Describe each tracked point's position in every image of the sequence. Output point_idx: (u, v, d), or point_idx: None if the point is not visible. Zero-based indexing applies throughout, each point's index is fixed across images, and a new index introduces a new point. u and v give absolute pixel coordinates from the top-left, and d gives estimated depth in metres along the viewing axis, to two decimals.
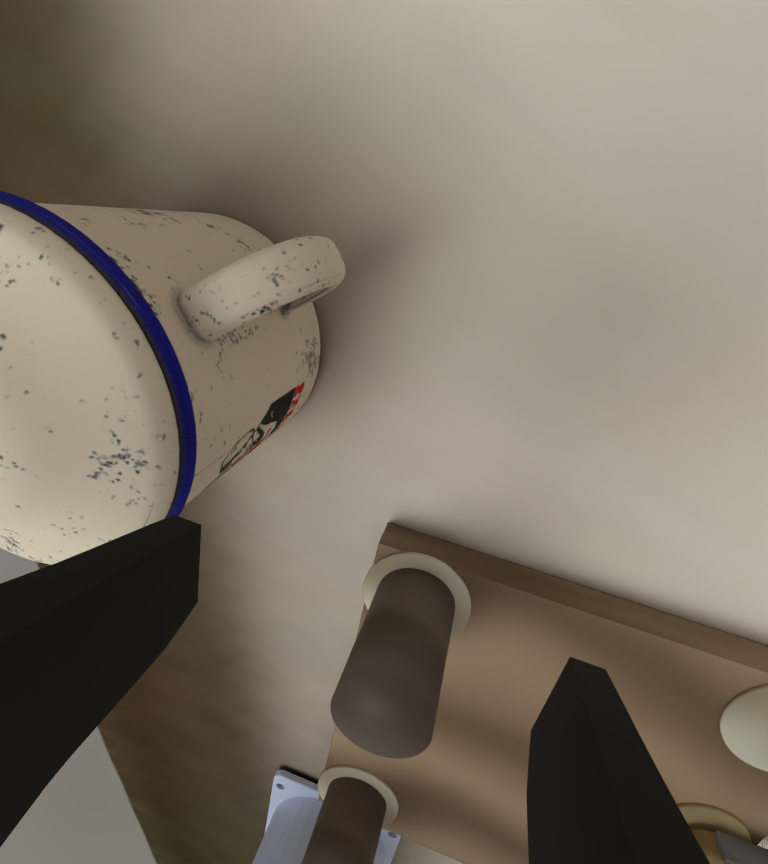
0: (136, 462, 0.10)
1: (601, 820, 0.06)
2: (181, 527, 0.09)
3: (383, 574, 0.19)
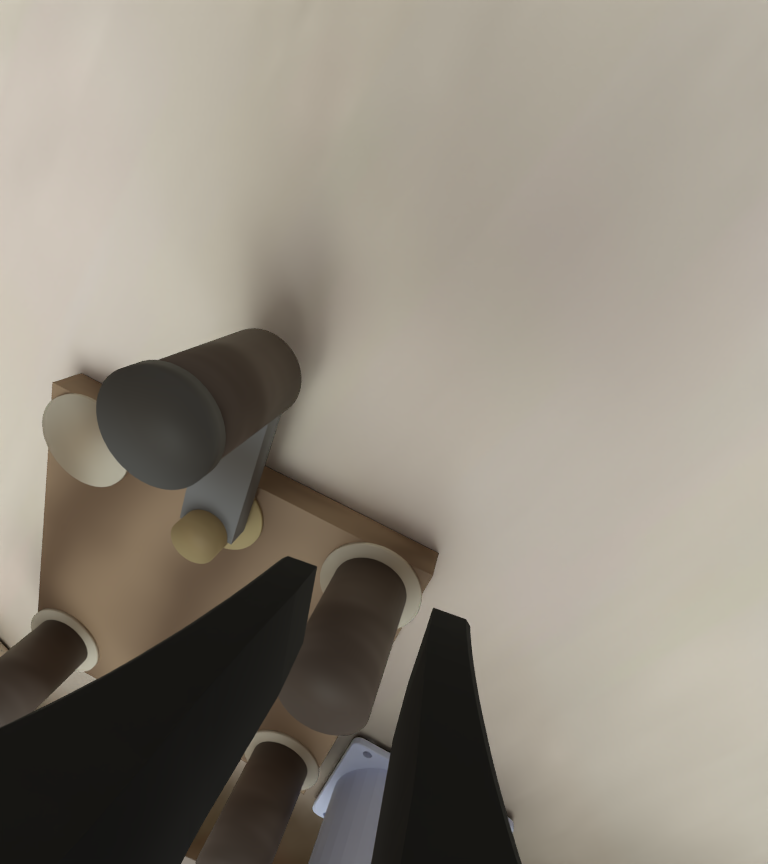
0: None
1: (411, 743, 0.06)
2: (301, 571, 0.08)
3: None
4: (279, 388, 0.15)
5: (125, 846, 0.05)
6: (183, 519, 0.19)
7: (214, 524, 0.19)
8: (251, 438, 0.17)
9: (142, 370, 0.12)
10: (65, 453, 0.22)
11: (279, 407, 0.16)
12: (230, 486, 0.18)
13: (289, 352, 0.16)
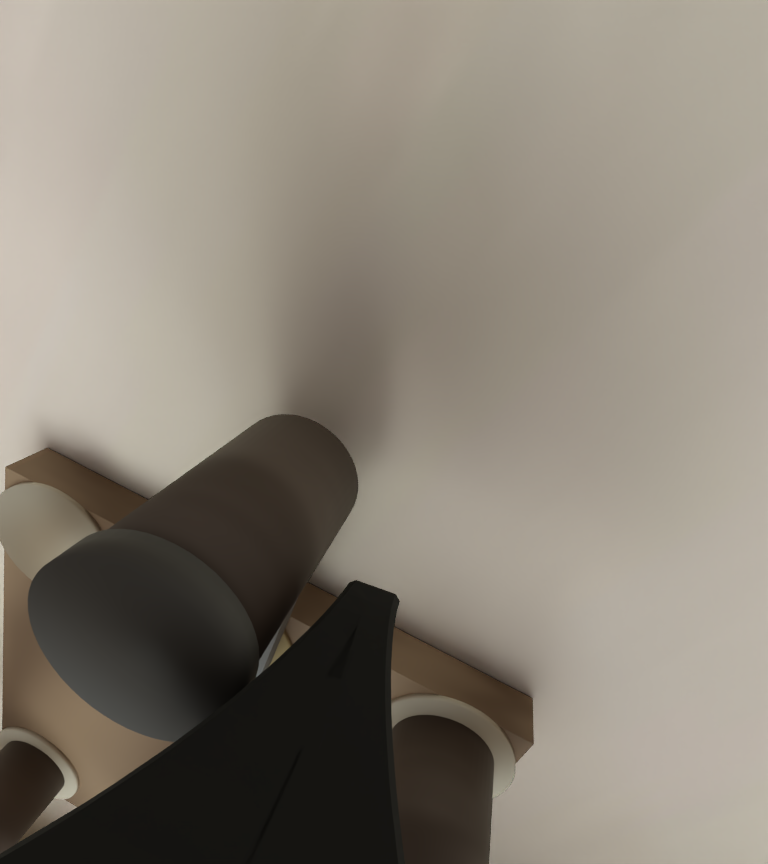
0: None
1: None
2: (374, 597, 0.08)
3: None
4: (333, 518, 0.10)
5: None
6: None
7: None
8: None
9: (106, 563, 0.06)
10: (26, 556, 0.16)
11: (331, 542, 0.10)
12: None
13: (342, 453, 0.11)
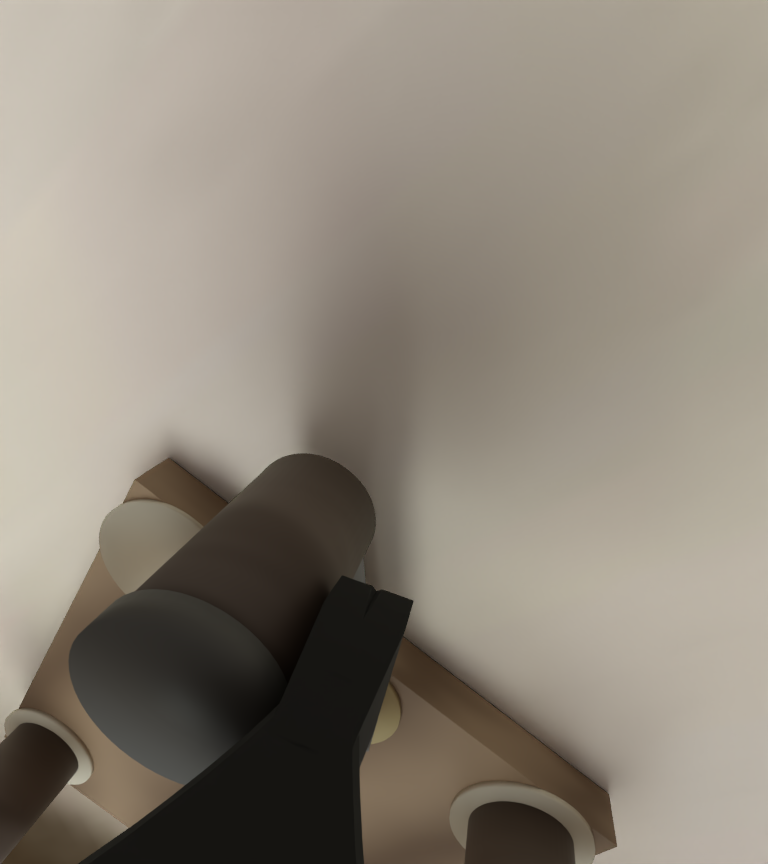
0: None
1: None
2: (401, 607, 0.08)
3: None
4: (344, 532, 0.10)
5: None
6: None
7: None
8: None
9: (109, 626, 0.07)
10: (125, 568, 0.15)
11: (356, 557, 0.10)
12: None
13: (339, 471, 0.11)
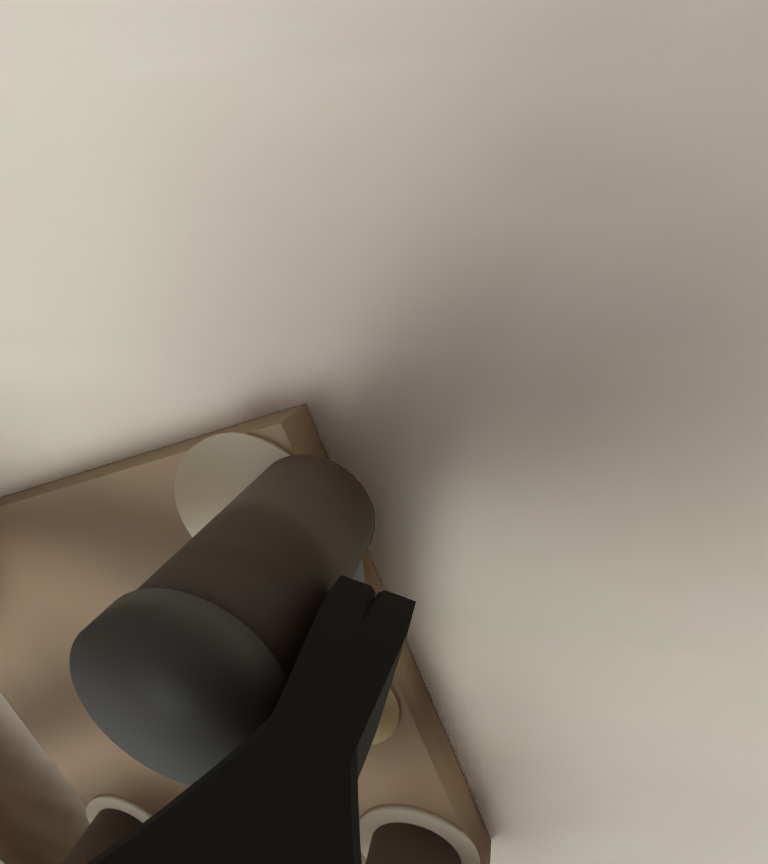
0: None
1: None
2: (403, 608, 0.08)
3: None
4: (344, 532, 0.10)
5: None
6: None
7: None
8: None
9: (110, 624, 0.07)
10: (199, 489, 0.13)
11: (355, 557, 0.10)
12: None
13: (339, 472, 0.11)
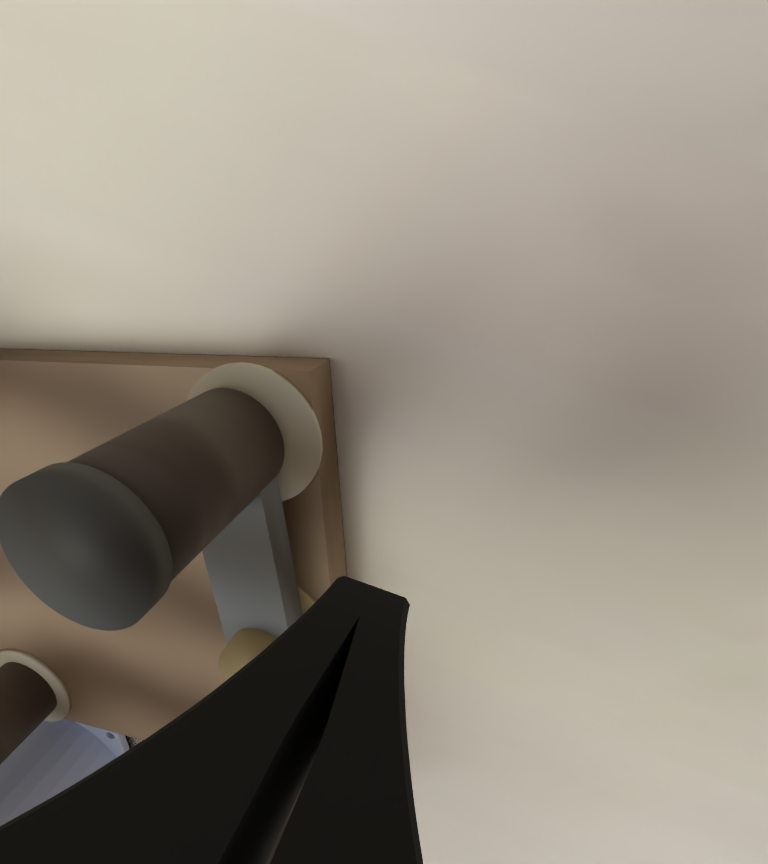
0: None
1: None
2: (360, 592, 0.08)
3: None
4: (243, 444, 0.12)
5: None
6: (225, 648, 0.15)
7: (262, 641, 0.15)
8: (253, 520, 0.14)
9: (20, 486, 0.09)
10: None
11: (256, 468, 0.12)
12: (259, 588, 0.15)
13: (247, 400, 0.13)
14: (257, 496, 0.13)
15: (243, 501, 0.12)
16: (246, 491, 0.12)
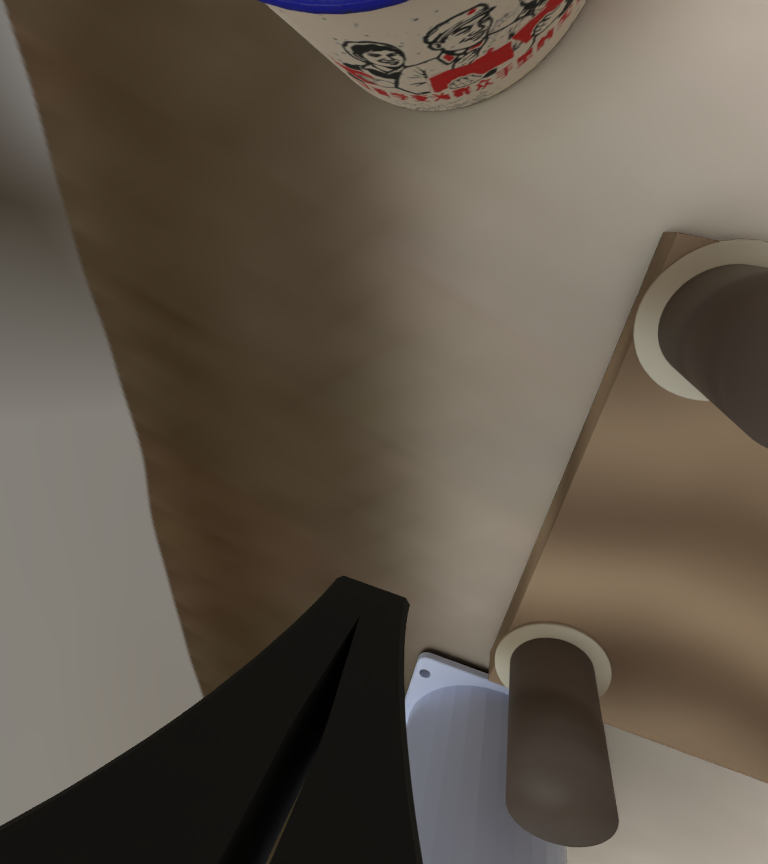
0: None
1: None
2: (360, 592, 0.08)
3: (678, 284, 0.13)
4: None
5: None
6: None
7: None
8: None
9: None
10: None
11: None
12: None
13: None
14: None
15: None
16: None
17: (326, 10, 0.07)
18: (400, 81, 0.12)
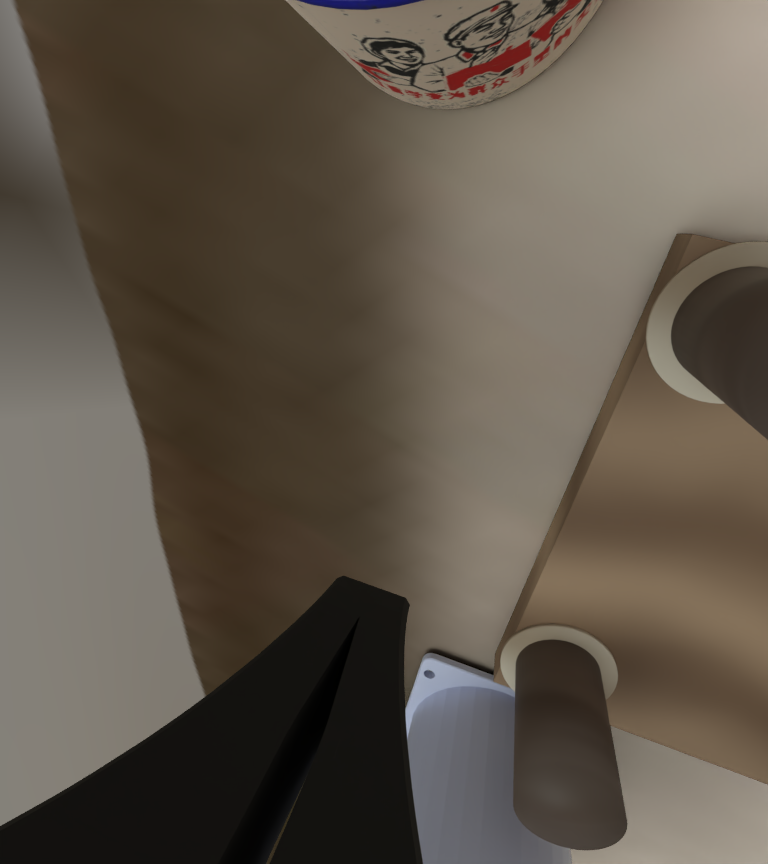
0: None
1: None
2: (360, 592, 0.08)
3: (693, 286, 0.13)
4: None
5: None
6: None
7: None
8: None
9: None
10: None
11: None
12: None
13: None
14: None
15: None
16: None
17: (350, 5, 0.07)
18: (416, 79, 0.11)
